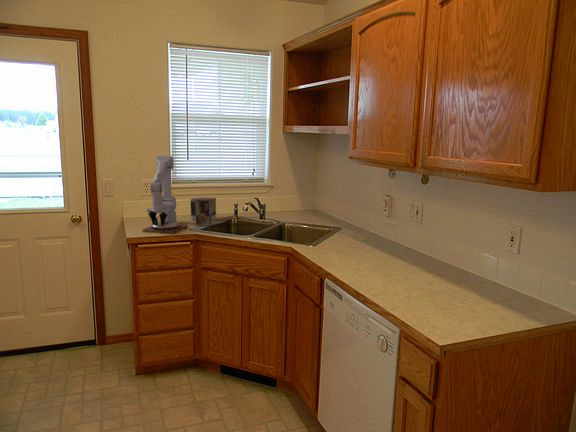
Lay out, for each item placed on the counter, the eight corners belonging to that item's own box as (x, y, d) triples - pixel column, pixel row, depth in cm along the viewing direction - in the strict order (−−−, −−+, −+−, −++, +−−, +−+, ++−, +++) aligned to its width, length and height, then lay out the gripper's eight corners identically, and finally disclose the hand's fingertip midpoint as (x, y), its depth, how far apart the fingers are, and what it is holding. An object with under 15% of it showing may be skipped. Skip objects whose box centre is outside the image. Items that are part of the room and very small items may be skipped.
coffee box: (212, 224, 294) (211, 199, 291) (209, 226, 288) (209, 201, 285) (198, 223, 295) (198, 199, 292) (195, 226, 289) (195, 201, 286)
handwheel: (167, 221, 288) (167, 212, 287) (185, 225, 278) (185, 216, 277) (145, 225, 275) (144, 216, 274) (163, 229, 265) (162, 220, 264)
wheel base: (158, 225, 288) (158, 222, 288) (187, 227, 284) (187, 224, 283) (142, 231, 270) (142, 228, 270) (173, 234, 266) (173, 230, 265)
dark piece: (216, 218, 314) (216, 197, 312) (212, 221, 305) (211, 199, 302) (195, 217, 316) (195, 196, 314) (190, 220, 307) (190, 198, 304)
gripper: (143, 202, 266) (144, 224, 269) (163, 204, 261) (164, 227, 264) (150, 200, 273) (151, 222, 275) (170, 202, 268) (171, 224, 270)
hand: (158, 224), depth 270 cm, fingers open, 5 cm apart
